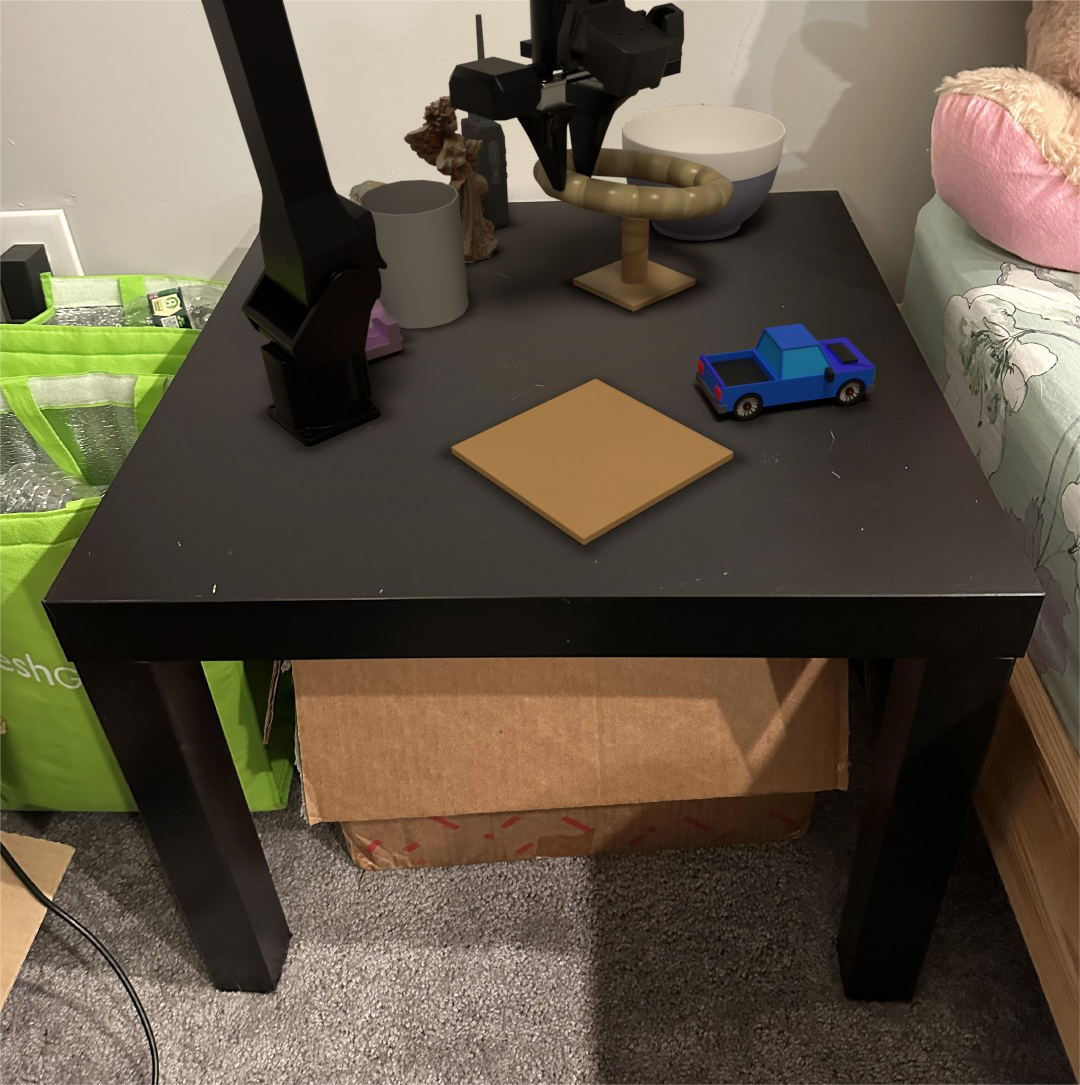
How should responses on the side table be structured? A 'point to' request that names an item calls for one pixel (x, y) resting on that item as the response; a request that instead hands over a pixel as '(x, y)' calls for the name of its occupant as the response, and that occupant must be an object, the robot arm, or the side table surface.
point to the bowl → (712, 158)
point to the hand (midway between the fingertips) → (571, 186)
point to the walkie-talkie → (489, 154)
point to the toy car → (785, 372)
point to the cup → (419, 251)
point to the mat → (591, 458)
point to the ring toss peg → (634, 272)
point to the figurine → (457, 173)
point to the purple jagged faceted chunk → (382, 333)
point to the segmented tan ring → (691, 199)
